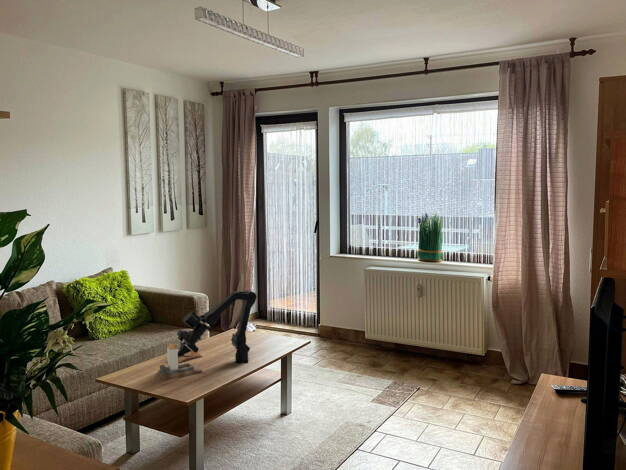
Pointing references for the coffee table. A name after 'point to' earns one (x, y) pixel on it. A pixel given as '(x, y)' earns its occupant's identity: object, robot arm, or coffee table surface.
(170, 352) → the white tall boxy piece
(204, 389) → the coffee table surface
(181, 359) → the sunglasses case
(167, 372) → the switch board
